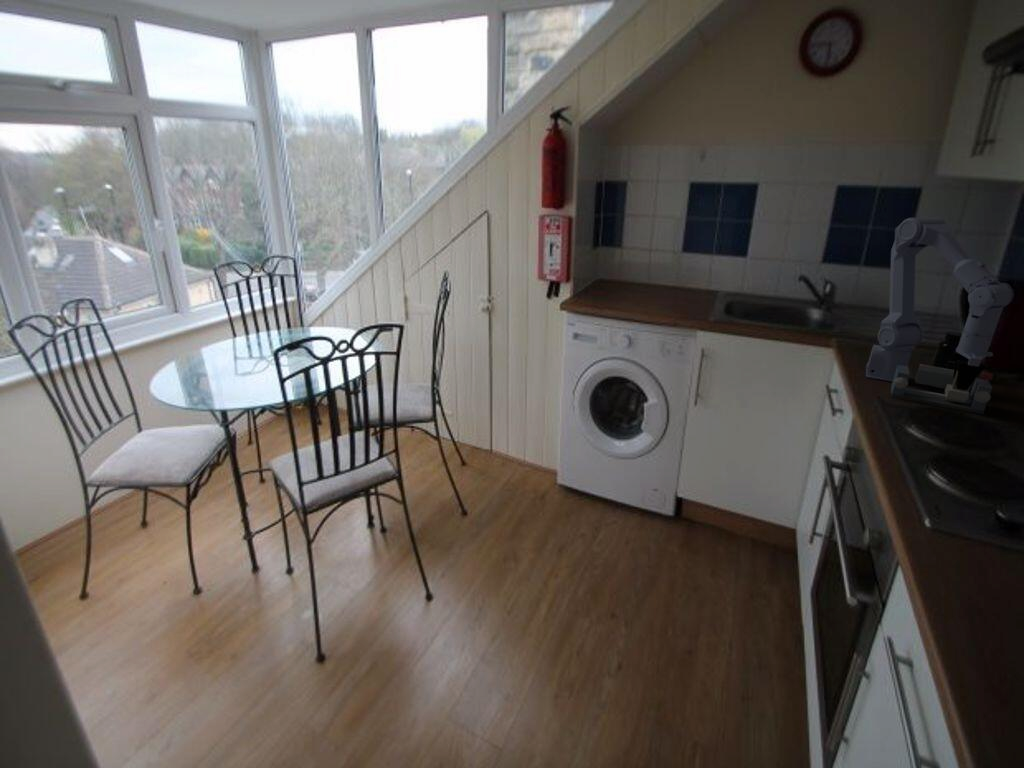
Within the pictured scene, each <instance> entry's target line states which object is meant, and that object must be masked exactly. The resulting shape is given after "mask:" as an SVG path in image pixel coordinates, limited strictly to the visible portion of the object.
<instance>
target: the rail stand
mask: <svg viewBox="0 0 1024 768" xmlns="http://www.w3.org/2000/svg"><path fill="white" fill-rule="evenodd" d="M909 378H910V370H909V366H901V365H897V369H896V372H895V375H894V379H893V382H892V381H891V385H890V397H891V398H893V399H899V400H905V401H908V402H909V401H910V402H914V403H915V402H916V403H920V404H921V403H922V404H924V405H925V404H926V405H932V406H936V407H937V406H938V407H943V408H948V409H954V410H958V411H959V410H960V411H964V412H968V413H969V412H970V413H975V414H981V415H984V413H985V410H986V406H987V404H988V402H989V401H990V400H991V397H992V396H991V392H992V390H993V386H992V385H991V383H990V380H984V379H981V378H979V377H978V376H977V377H976V378H975V379H974V381H973V383H972V385H971V388H970V391H969V396H968V398H967V401H966V402H965V403H962V402H956V401H950V400H945V397H946V395H945V393H940V392H934V391H929V390H924V389H923V390H922V389H918V388H910V387H908V385H909V381H908V380H909Z"/></svg>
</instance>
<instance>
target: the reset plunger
mask: <svg viewBox="0 0 1024 768" xmlns="http://www.w3.org/2000/svg"><path fill="white" fill-rule="evenodd" d="M993 377H994V374H992V373H990V372H987V371H986V372H985V371H982V372H981V373H980V374H979V377H978V378H981V379H984V380H988V381H992V380H993Z"/></svg>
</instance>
